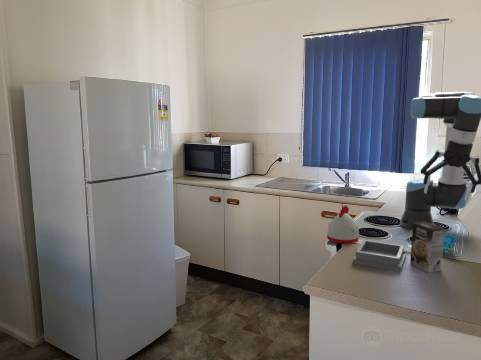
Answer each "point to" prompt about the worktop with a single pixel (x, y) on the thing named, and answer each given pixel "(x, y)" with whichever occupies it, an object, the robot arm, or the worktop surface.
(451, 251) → the gear
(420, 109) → the robot arm
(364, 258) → the housing
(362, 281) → the worktop surface
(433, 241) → the coffee box
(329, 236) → the kitchen timer
